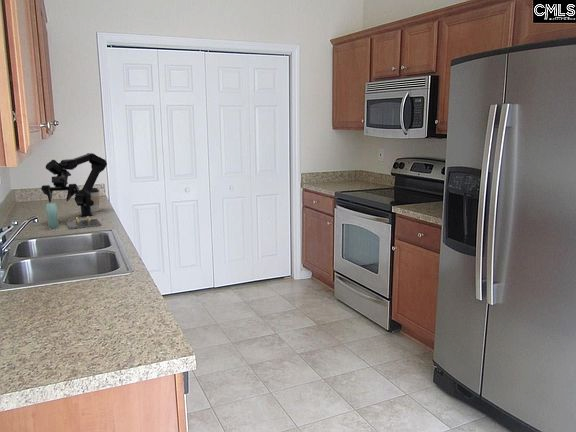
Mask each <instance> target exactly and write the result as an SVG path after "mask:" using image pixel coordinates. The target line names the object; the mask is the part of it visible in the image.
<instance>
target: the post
mask: <svg viewBox="0 0 576 432" xmlns="http://www.w3.org/2000/svg"><path fill="white" fill-rule="evenodd" d="M45 209H46V218H47V227H48V229H49V228H51V229H52V228H54V229H58V228H59V227H60V226H59V219H58V209H57V203H54V202H53V203H52V202H51V203H47V204H45ZM51 229H50V230H51Z"/></svg>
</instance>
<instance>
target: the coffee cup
mask: <svg viewBox="0 0 576 432" xmlns="http://www.w3.org/2000/svg"><path fill="white" fill-rule="evenodd" d="M90 193H91V198H90V199H91V200H92V201H93V202H94V205H92V206H91V213H96V212H99V211H100V191H99V188H97V187H93V188H92V190H91V192H90Z"/></svg>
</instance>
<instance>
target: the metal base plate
mask: <svg viewBox="0 0 576 432" xmlns="http://www.w3.org/2000/svg"><path fill="white" fill-rule="evenodd" d="M66 225H67V228H68V227H69V228H68V229H69V230H70V229H71V230H76V229H75V228H79V229H85V228H84V227H88V228H94V226H96V227H101V226H102V223H101V221H99V220H98V219H97V218H93V219H92V218H91V217H90V216H86V219H84V220H80V219H79V217H78V216H76V217H75V220H72V221H66Z"/></svg>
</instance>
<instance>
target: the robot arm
mask: <svg viewBox="0 0 576 432" xmlns="http://www.w3.org/2000/svg"><path fill="white" fill-rule="evenodd" d="M87 162H88V163H90V167H91V170H90V173H89V174H88V176H87V179H86V181H85V182H84V185H83V187H82V189H80V188H79V187H78V185H77V184H76V183H69V182H68V177H71V176H72V174H71V172H70V171H71V170H73V171H74V170H75V169H76V168H78V166H79V165H82V164H85V163H87ZM107 165H108V163H107V161H106V159H105V158H103V157H101V156H98V155H96V154H95V153H93V152H91V153H90V152H87V153H86V154H83V155H80V156H77V157H75V158H70V159H68V158H67V159H66V158H65V159H61V160H60V162H58V161H57V160H56V159H51V160H50V161H49V162H47V163H46V164H45V169H46V170H47V171H48V172H50V173H51V174H53V175H54V176H51V183H52V184H53V186H50V184H45V185H42V186H41V188H40V189H41V191H42V192H43V194H44V195H46V196H47V199H48V203H52V198H53V192H56V191H58V192H61V191H67V194H66V199H65V200H66V202H68V201H69V200H70V199H71V198H72V197H74V202H75V204H76V206H77V207H80V214H79V216H81V217H87V216H89V217H91V216H93V212H91V206H92V205H94V202H93V201H92V200H91V199H90V198H91V193H90V192H91V190H92V188H94V186H95V183H96V182H97V179H98V177H99V175H100V174H101V172H103V171H105V169H106V167H107ZM67 185H68V186H67Z"/></svg>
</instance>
